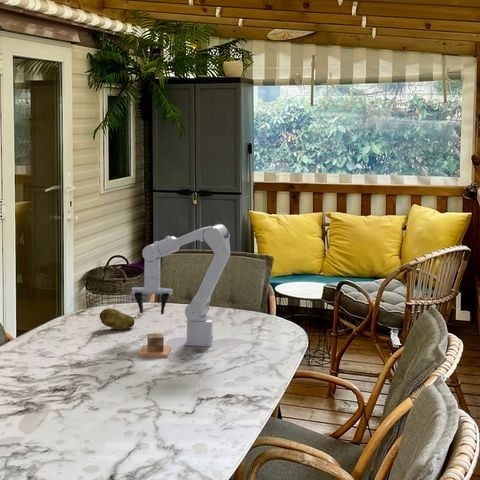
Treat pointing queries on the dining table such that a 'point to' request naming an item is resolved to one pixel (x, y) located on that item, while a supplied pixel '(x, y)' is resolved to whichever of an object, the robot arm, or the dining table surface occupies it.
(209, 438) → the dining table surface
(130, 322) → the olive green oval piece
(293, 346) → the dining table surface
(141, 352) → the terracotta tile
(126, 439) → the dining table surface
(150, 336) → the walnut cube
